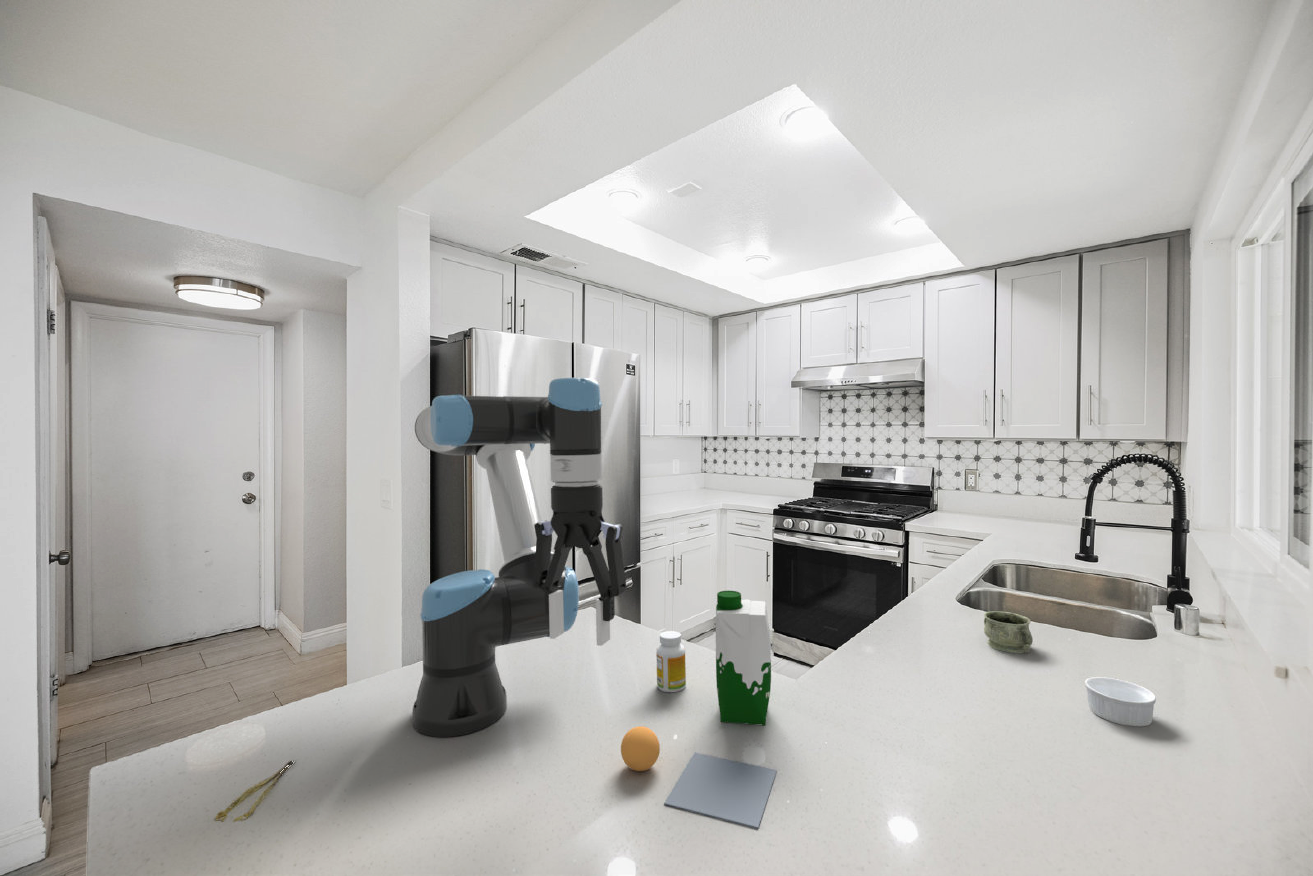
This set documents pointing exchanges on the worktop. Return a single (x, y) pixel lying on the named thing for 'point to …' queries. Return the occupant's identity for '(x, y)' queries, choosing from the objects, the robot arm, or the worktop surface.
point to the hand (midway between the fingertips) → (579, 638)
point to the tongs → (250, 792)
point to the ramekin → (1120, 701)
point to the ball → (640, 748)
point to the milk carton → (742, 659)
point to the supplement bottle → (671, 662)
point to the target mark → (723, 789)
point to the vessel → (1007, 631)
